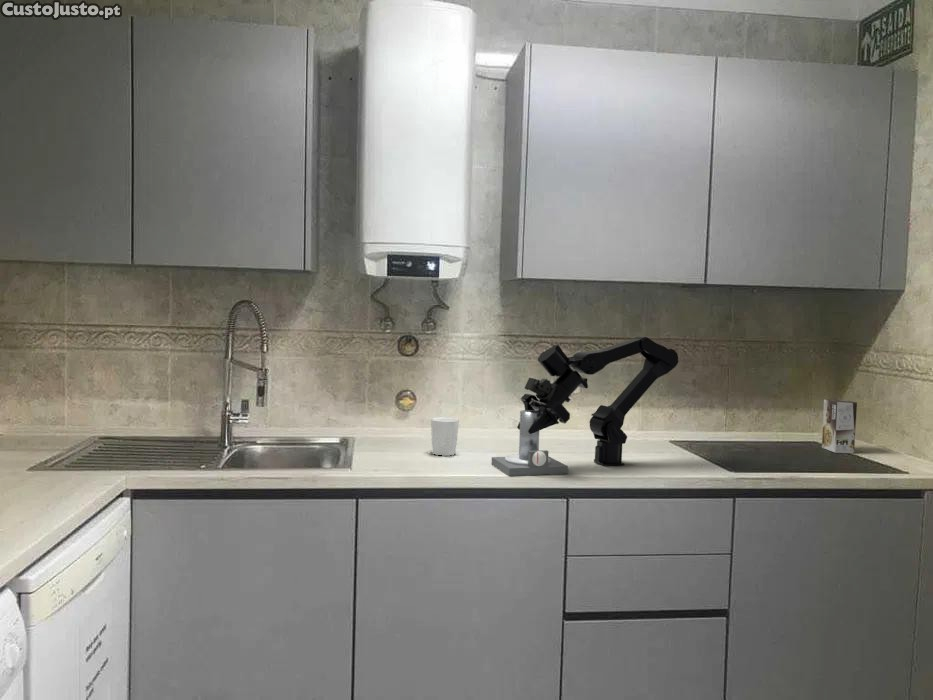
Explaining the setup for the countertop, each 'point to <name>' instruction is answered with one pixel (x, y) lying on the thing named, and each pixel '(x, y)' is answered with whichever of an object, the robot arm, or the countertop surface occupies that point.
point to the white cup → (444, 435)
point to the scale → (529, 464)
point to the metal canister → (527, 433)
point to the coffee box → (839, 425)
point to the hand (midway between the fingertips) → (523, 430)
